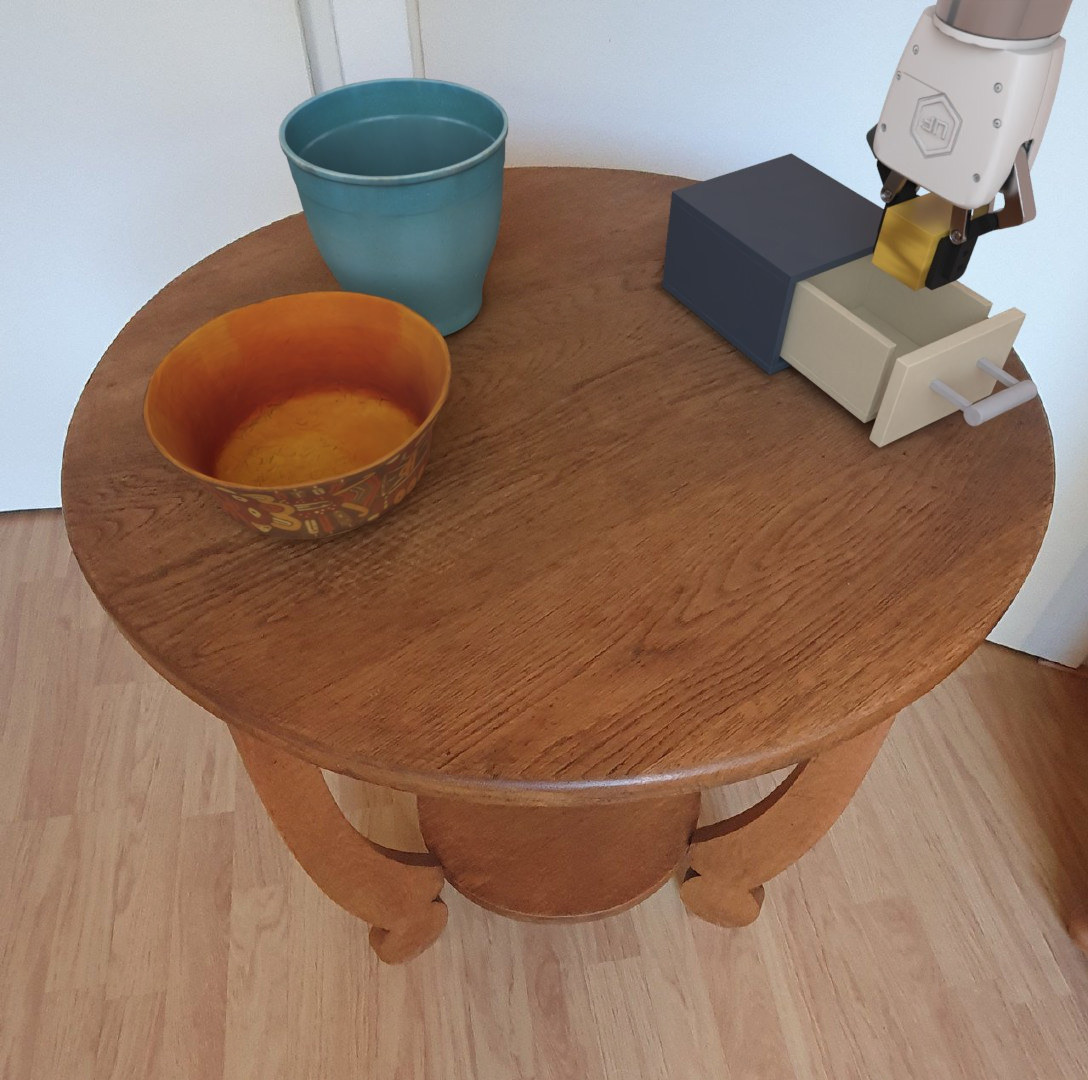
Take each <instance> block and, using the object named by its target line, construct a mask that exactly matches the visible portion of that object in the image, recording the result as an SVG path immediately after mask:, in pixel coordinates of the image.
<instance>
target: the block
mask: <svg viewBox="0 0 1088 1080" xmlns="http://www.w3.org/2000/svg"><path fill="white" fill-rule="evenodd" d="M952 207H953V204H951V203H949V202H947V201H945V200H943V199H942V198H940V197H938V196H936V195H935V194H933V193H931V192H928V193H925V194H922V195H919V197H916V198H914V199H911V200H908V201H905V202H903V203H900V204H897V205H894V206H891V207H889V208H887V210H886V214H885V217H884V221H883V224H882V228H881V231H880V234H879V238H878V241H877V245H876V248H875V252H874V255H873V258H872V262H871V263H872V264H874V265H875V266H877V267H879V268H880V269H882V270H883V271H885V272H886V273H888V274H889V275H891V276H892V277H894V278H895V279H897V280H898V281H900V282H901V283H903V284H904V285H906V286H907V287H909V288H910V289H912V290H913V291H917V290H919V289H922V288H924V287H925V280H926V278H927V275H928V272H929V269H930V266H931V263H932V260H933V257H934V254H935V251H936V249H937V246H938V243H939V241H940V240H941V239H942V238H943V237H946V236H949V230H950V222H951V215H952ZM972 216H973V214H971V220H972Z"/></svg>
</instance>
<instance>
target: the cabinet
mask: <svg viewBox="0 0 1088 1080" xmlns="http://www.w3.org/2000/svg"><path fill="white" fill-rule="evenodd" d="M669 205H670V206H669V215H668V225H667V233H666V234H667V235H666V245H665V254H664V264H663V265H664V266H663V273H662V281H661V282H662V283H661V287H662V288H663V289H664V290H665V291H666V292H668V293H669V294H670V295H672V297H674V298H675V299H676V300H677V301H679V302H680V304H682V305H683V306H685V307H686V308H687V309H688V310H690V311H691V312H692V313H693V314H695V315H696V316H697V317H698V318H699V319H700V320H702V321H703V322H704V323H705V324H706V325H708V327H710V328H711V329H712V330H714V331H715V332H716V333H718V334H719V335H720V336H721V337H722V338H723V339H724V340H725V341H727V342H728V343H730V344H731V345H732V346H733V347H734V348H736V349H737V350H738V351H739V352H741V354H743V355H744V356H745V357H747V358H748V359H749V360H750V361H751V362H753V363H754V364H755V365H756V366H758V368H759V369H761V370H762V371H763V372H765V373H766V374H767V375H768V376H769V375H773V374H775V373H777V372H780V371H783V370H784V369H787V368H790V367H793V366H792V365H791V364H789V363H788V362H787V361H786V360H784V359H783V358H782V357H781V356H780V352H781V348H782V343H783V339H784V335H785V330H786V326H787V321H788V317H789V313H790V308H791V304H792V299H793V295H794V291H795V286H796V283H797V282H799V281H802V280H805V279H807V278H810V277H813V276H815V275H818V274H820V273H823V272H826V271H828V270H831V269H834V268H836V267H839V266H841V265H844V264H847V263H849V262H852V261H855V260H857V259H860V258H862V257H865V256H868V255H870V254H873V248H874V245H875V241H876V238H877V231H878V228H879V224H880V221H881V217H882V214H883V210H884V207H883V208H882V206H880V205H878V204H876V203H875V202H873V201H872V200H870V199H868V198H866V197H864V196H863V195H861V194H860V193H858V192H856V191H854V190H853V189H851V188H850V187H848V186H846V185H844V184H843V183H842V182H839V181H838V180H837V179H835V178H833V177H832V176H830V175H828V174H827V173H825V172H823V171H821V170H820V169H818V168H816V167H815V166H813V165H812V164H811V163H808V162H807V161H805V160H803V159H802V158H800V157H799V156H797V155H795V154H793V153H792V152H790V153H788V154H785V155H782V156H778V157H775V158H772V159H769V160H766V161H763V162H760V163H756V164H752V165H750V166H746V167H743V168H741V169H737V170H734V171H730V172H728V173H725V174H721V175H719V176H715V177H713V178H709V179H706V180H703V181H700V182H696V183H694V184H690V185H687V186H684V187H680V188H678V189H675V190H672V191H671V195H670V204H669Z"/></svg>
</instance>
